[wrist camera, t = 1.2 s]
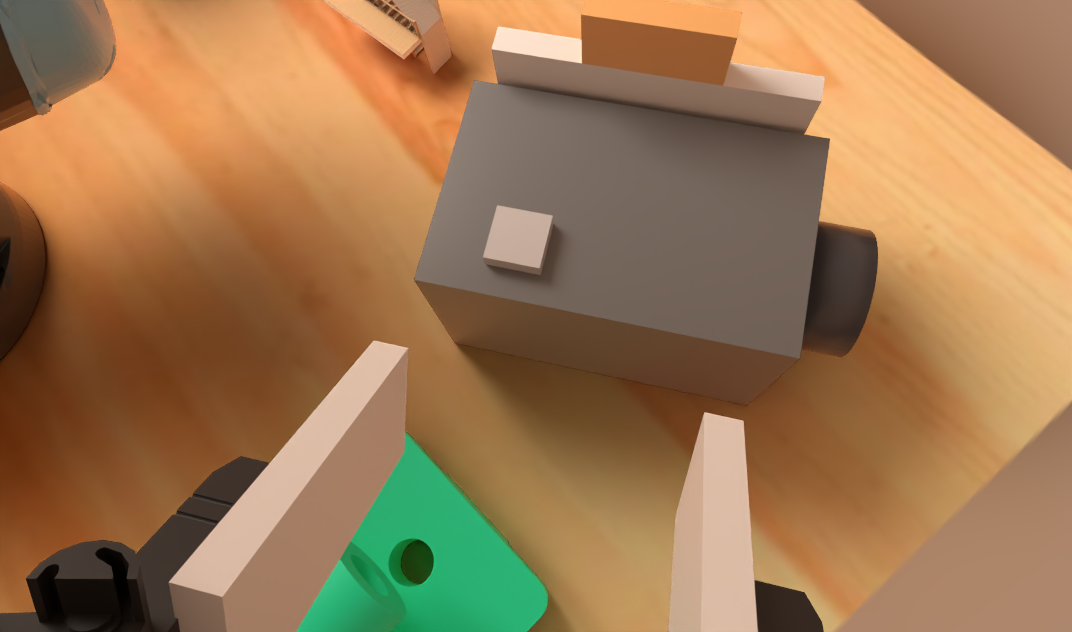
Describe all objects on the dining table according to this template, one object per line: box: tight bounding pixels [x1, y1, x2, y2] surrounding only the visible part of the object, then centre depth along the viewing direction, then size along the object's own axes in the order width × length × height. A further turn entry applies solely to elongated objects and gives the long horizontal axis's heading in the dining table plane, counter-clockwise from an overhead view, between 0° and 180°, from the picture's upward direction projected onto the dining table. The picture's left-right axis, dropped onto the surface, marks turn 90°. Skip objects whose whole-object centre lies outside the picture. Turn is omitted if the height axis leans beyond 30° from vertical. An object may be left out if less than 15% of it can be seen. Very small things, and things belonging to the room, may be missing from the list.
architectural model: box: [324, 0, 452, 74], centre depth 44 cm, size 3×7×7 cm, turn 50°
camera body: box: [414, 80, 878, 406], centre depth 35 cm, size 10×19×11 cm, turn 77°
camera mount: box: [296, 432, 549, 632], centre depth 32 cm, size 12×8×10 cm, turn 44°
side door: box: [492, 0, 825, 135], centre depth 35 cm, size 1×14×15 cm, turn 77°
